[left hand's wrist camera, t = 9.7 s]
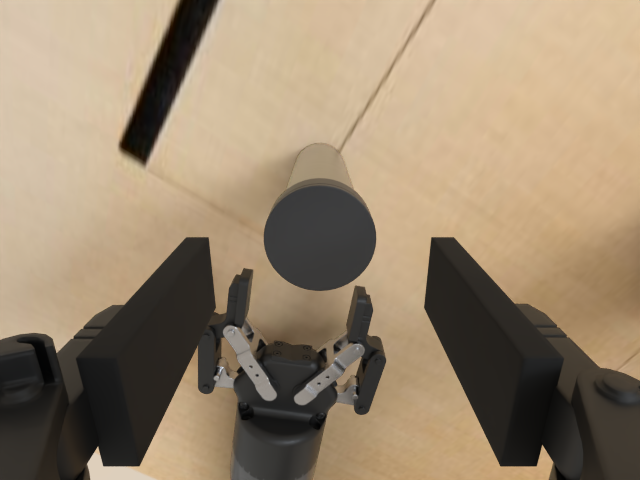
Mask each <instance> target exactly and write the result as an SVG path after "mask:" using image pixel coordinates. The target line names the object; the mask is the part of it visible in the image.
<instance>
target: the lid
mask: <svg viewBox="0 0 640 480" xmlns="http://www.w3.org/2000/svg"><path fill="white" fill-rule="evenodd" d="M264 246H265V251H266V254H267V257H268V259H269V261H270V263H271V264H272V266H273V268H274V269H275V270H276V271H277V272H278V273H279V274H280V275H281V276H282V277H283V278H284V279H286V280H287V281H288V282H290V283H292V284H294V285H296V286H298V287H301V288H304V289H308V290H315V291H324V290H332V289H336V288H339V287H342V286H344V285H346V284H348V283H350V282H352V281H353V280H355V279H356V278H357V277H358V276H359V275H360V274H361V273H362V272H363V271H364V270H365V269H366V267H367V266H368V264H369V263H370V261H371V259H372V256H373V254H374V250H375V246H376V230H375V225H374V222H373V219H372V217H371V214H370V212H369V209H368V207H367V205H366V203H365V202H364V201H363V199H362V198H361V197H360V195H359V194H358V193H357V192H356V191H354V190H353V189H352V188H350V187H349V186H347V185H346V184H343V183H341V182H339V181H336V180H332V179H327V178H314V179H308V180H304V181H301V182H298V183H296V184H294V185H293V186H291V187H290V188H288V189H287V190H285V191H284V192H283V193H282V194H281V195H280V197H279V198H278V199H277V200H276V202H275V204H274V205H273V207H272V210H271V212H270V214H269V217H268V219H267V222H266V225H265V230H264Z"/></svg>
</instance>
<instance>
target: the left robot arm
mask: <svg viewBox="0 0 640 480" xmlns="http://www.w3.org/2000/svg"><path fill="white" fill-rule="evenodd" d="M215 308H216V305H215V295H214V286H213V276H212V266H211V257H210V247H209V237H186V238H185V239H184V240H183V242H182V243H181V244H180V245H179V246H178V247H177V248H176V249H175V250H174V251H173V252H172V254H171V255H170V256H169V257H168V258H167V259H166V260H165V261H164V262H163V263H162V265H161V266H160V267H159V268H158V269H157V270H156V271H155V272H154V273H153V274H152V275H151V277H150V278H149V279H148V280H147V281H146V282H145V283H144V284H143V285H142V286H141V287H140V289H139V290H138V291H137V292H136V293H135V294H134V295H133V296H132V297H131V298H130V299H129V301H128V302H127V303H126V304H125V305H112V306H110V307H109V308H107V309H105V310H103V311H102V312H100V313H98V314H96V315H95V316H94V317H93V318H92V319H91V320H90V321H89V322H88V323H87V324H86V325H85V326H84V328H83V329H81V330H80V331H79V332H78V333H77V334H76V335H75V336H74V339H71V340H70V341H69V342H68V343H67V344H66V345H65V346H64V347H63V348H62V349H61V350H60V351H59V352H58V353H56V350H55V346H54V343H53V339H52V338H51V337H49V336H48V335H46V334H38V333H30V334H20V335H16V336H12V337H8V338H5V339H2V340H0V480H90V474H89V470H88V466H87V463H88V461H89V460H90V458H91V456H92V455H93V453H94V452H95V450H96V448H97V447H99V451H100V455H101V459H102V463H103V466H140V464H141V462H142V460H143V458H144V456H145V454H146V452H147V450H148V447H149V445H150V443H151V441H152V439H153V437H154V435H155V433H156V431H157V429H158V427H159V425H160V423H161V420H162V418H163V416H164V414H165V412H166V410H167V408H168V406H169V404H170V402H171V400H172V398H173V396H174V393H175V391H176V389H177V387H178V385H179V383H180V381H181V379H182V377H183V375H184V373H185V371H186V369H187V366H188V364H189V362H190V360H191V358H192V356H193V354H194V352H195V350H196V348H197V346H198V344H199V342H200V339H201V337H202V335H203V333H204V331H205V329H206V327H207V325H208V323H209V321H210V319H211V317H212V315H213V312H214V310H215ZM424 308H425V310H426V312H427V315H428V317H429V319H430V321H431V323H432V325H433V327H434V329H435V331H436V333H437V335H438V337H439V339H440V342H441V344H442V346H443V348H444V350H445V352H446V354H447V356H448V358H449V360H450V362H451V364H452V366H453V369H454V371H455V373H456V375H457V377H458V379H459V381H460V383H461V385H462V387H463V389H464V391H465V393H466V396H467V398H468V400H469V402H470V404H471V406H472V408H473V410H474V412H475V414H476V416H477V418H478V420H479V423H480V425H481V427H482V429H483V431H484V433H485V435H486V437H487V439H488V441H489V443H490V445H491V447H492V450H493V452H494V454H495V456H496V458H497V460H498V462H499V464H500V466H537V463H538V459H539V455H540V451H541V447H542V445H543V446H544V448H545V449H546V451H547V453H548V454H549V456H550V457H551V459H552V461H553V466H552V470H551V473H550V477H549V480H640V381H639V380H637V379H635V378H633V377H631V376H629V375H627V374H624V373H621V372H618V371H614V370H611V369H605V368H599V367H598V366H597V365H596V364H595V363H594V362H593V361H592V360H591V359H590V358H589V357H588V356H587V355H586V354H585V353H584V352H583V351H582V350H581V349H580V348H579V347H578V346H577V345H576V344H575V343H574V342H573V341H572V340H571V339H570V338H567V335H566V334H565V333H564V332H563V331H562V330H561V329H560V328H557V325H556V324H555V323H554V322H553V321H552V320H551V319H550V318H549V317H548V316H547V315H546V314H545V313H543V312H541V311H539V310H538V309H536V308H534V307H532V306H530V305H529V304H514V303H513V302H512V301H511V299H510V298H509V297H508V296H507V295H506V294H505V293H504V292H503V291H502V290H501V289H500V287H499V286H498V285H497V284H496V283H495V282H494V281H493V280H492V279H491V278H490V277H489V275H488V274H487V273H486V272H485V271H484V270H483V269H482V268H481V267H480V266H479V265H478V263H477V262H476V261H475V260H474V259H473V258H472V257H471V256H470V255H469V254H468V253H467V251H466V250H465V249H464V248H463V247H462V246H461V245H460V244H459V243H458V242H457V240H456V239H455V238H454V237H431V247H430V257H429V266H428V276H427V285H426V295H425V305H424Z"/></svg>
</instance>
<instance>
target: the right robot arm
mask: <svg viewBox="0 0 640 480" xmlns="http://www.w3.org/2000/svg"><path fill="white" fill-rule="evenodd" d="M252 277H253V270H252V269H245V268H244V269H243V271H242V274H241V275H236V276H235V278H234V279H233V281H232V283H231V286H230V288H229V294H228V295H229V296H228V305H227V313H225V314H220V315H219V314H218V313H215V312H213V315H212V317H211V319H210V321H209V323H208V325H207V327H206V329H205V331H204V333H203V335H202V337H201V339H200V342H199V344H198V389H199V391H200V392H202V393H204V394H209V393H211V392H212V391H213V389H214V387H225V388H234V391H235V393H236V394H237V397H238V404H237V412H236V421H235V429H234V437H233V446H232V454H231V464H230V474H231V480H312V479H313V476H314V471H315V467H316V463H317V458H318V454H319V449H320V444H321V440H322V435H323V431H324V427H325V422H326V418H327V413H328V411H329V409H330V408H331V407H332V406H333V405H334V404H335V403H336V402H339V403H344V404H350V405H354V410H355V412H356V413H357V414H359V415H364V414H366V413H368V411H369V409H370V406H371V403H372V400H373V398H374V395H375V392H376V389H377V386H378V383H379V380H380V378H381V375H382V372H383V369H384V366H385V363H386V358H385V354H384V350H383V345H382V341H381V339H380V338H379V337H377V336H372V337H371V336H369V335H367V333H368V329H369V325H370V321H371V317H372V313H373V308H372V303H371V299H370V295H366V290H365V287H361V286H355V288H354V293H353V297H352V302H351V306H350V311H349V315H348V320H347V324H346V325H347V330H346V331H345V332H343V333H342V334H341V335H340V336H338V337H337V338H336V339H330V340H329V341H327V342H326V343H325V344H324V345H322V346H321V347H320V348H318V349H317V350H316V351H315V350H314V349H312V346H309V345H291V344H288V343H285V342H281V341H274V343H272V344H268V343H267V341H266V340H265V338H264V337H263V335H262V334H261V332H260V331H259V329H258V328H254V327H253V325H252V324H251V322H250V321H249V319H248V318H247V313H248V310H249V302H250V294H251V286H252ZM222 337H225V338H226V339H227V340H228V342H229V343H230V345H231V346H232V347H233V349H234V350H235V352H236V356H237V360H238V362H239V363H240V365H241V367H240V368H239V369H238V370H237V372H235V371H232V370H231V369H230V368H229V364H228V362H227V361H226V358H225V357H221V338H222ZM359 357H362V358H361V361H360V365H359V368H358V371H357V374H356V376H355V375H351V376H350V378H349V379H348V380H347V382H346V383H345V384H344V385H342V386H337V382H336V379H338V378H339V377H340V376H342V374H343V373H344V371H345V369H346V367H348V366H349V365H350V364H351V363H353V362H354V361H355V360H357V359H358V358H359Z"/></svg>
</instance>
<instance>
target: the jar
mask: <svg viewBox="0 0 640 480" xmlns="http://www.w3.org/2000/svg"><path fill="white" fill-rule="evenodd" d="M314 178H327V179H332V180H336V181H339V182H341V183H343V184H346V185H347V186H349V187H350V188H352V189H353V190H354V188H353V185H352V183H351V180H350V177H349V174H348V171H347V168H346V165H345V162H344V159H343V157H342V155H341V154H340V152H339V151H338V150H337V149H336V148H334V147H333V146H331V145H328V144H324V143H316V144H312V145H309V146H307V147H306V148H304V149H303V150H302V151H301V152H300V154H299V155H298V157H297V159H296V162H295V165H294V168H293V171H292V174H291V176H290V179H289V182H288V185H287V188H286V190H287V189H288V188H290V187H291V186H293V185H294V184H296V183H298V182H301V181H304V180H308V179H314Z"/></svg>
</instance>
